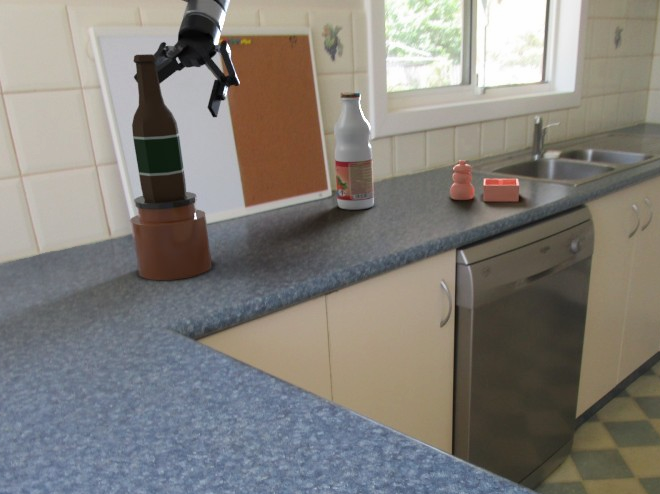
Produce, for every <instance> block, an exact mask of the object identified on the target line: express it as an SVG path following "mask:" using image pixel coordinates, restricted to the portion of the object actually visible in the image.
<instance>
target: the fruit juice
mask: <svg viewBox="0 0 660 494" xmlns="http://www.w3.org/2000/svg"><path fill="white" fill-rule="evenodd" d="M361 97H362V95H361V92H358V91H353V92H352V91H351V92H349V91H348V92H341V93H340V101H341V111H340V115H339V117H338V119H337V120H336V122H335V124H334V126H333V134H334V139H335V142H336V145H335V148H334V164H335V165H334V166H335V167H334V168H335V182H336V183H335V184H336V201H337V206H338V208H340V209H343V210H353V211H354V210H355V211H356V210H366V209H370V208H372V207H374V204H375V196H374V195H375V190H374V168H373V167H374V164H373V148H372V145H371V143H370V138H371V132H372V129H371V125H370V122H369V121H368V120H367V119H366V117H365V116H364V112H363V111H362V108H361Z"/></svg>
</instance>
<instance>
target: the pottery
mask: <svg viewBox="0 0 660 494" xmlns="http://www.w3.org/2000/svg"><path fill="white" fill-rule="evenodd" d="M458 161H459V163H458V164H456V165H454V167H453V168H452V169H453V172H454V173H453V174H452V180H453V182H454V183H453V184H452V185H451V186H450V188H449V194H450V198H451V199H452V200H456V201H457V200H458V201H467V200H472V199H474V196H475V192H476V191H475V187H474V185H473V184H472V183H471V181H473V174H472V173H471V171H472V166H471V165H470V164H468V163H467V162H466V161H467V160H465V159H462V160H461V159H459V160H458ZM482 195H483V198H482V199H483V200H482V202H519V199H520V198H519V197H520V182H519V178H483V193H482Z"/></svg>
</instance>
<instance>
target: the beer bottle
mask: <svg viewBox="0 0 660 494" xmlns="http://www.w3.org/2000/svg"><path fill="white" fill-rule="evenodd" d="M156 62H157V60H156V57H155V55H154V54H152V53H151V54H148V53H147V54H135V55H133V63H135V69H136V73H137V81H138V83H137V91H138V106H137V108H136V110H135V113H134V115H133V118H132V123H131V128H132V130H131V131H132V139H133V146H134V151H135V159H136V163H137V169H138V170H137V171H138V176H139V183H140V188H141V193H142V196H143V198H144V199H145V200H149V201H170V200H175V199H180V198H184V197H185V195H186V192H187V185H186V184H187V183H186V177H185V169H184V162H183V153H182V147H181V140H180V139H181V138H180V132H179V128H178V123H177V120H176V119H175V116H174V114H173V112H172V111H171V110H170V109H169V108H168V107H167V105H166V104H165V100H164V98H163V94H162V89H161V85H160V84H161V83H160V84H159V79H158V74H157V69H156V64H155V63H156Z"/></svg>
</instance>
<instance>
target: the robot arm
mask: <svg viewBox="0 0 660 494" xmlns="http://www.w3.org/2000/svg"><path fill="white" fill-rule="evenodd" d="M230 1H231V0H182V2H185V3H186V6H185V9H184V12H183V15H182V21H181V23H180V27H179V28H178V29H179V30H178V34H177V42H176V43H175V44H174V45H168V44H167V43H166V42H165V41H162V42H160V44H159V46H158V48H157V50H156V52H154V54H153V55H155V57H156V60H157V62H156V63H155V64H156V69H157V74H158V79H159V84H162V83H163V82H164V81H165V80H167V79H168V78H169V77H171V76H172V75H174V74H175V73H176V72H180V71H182V70H183V69H184V68H202V67H203V66H204V65H205V67H206V68H207V70H209V71H210V72H211V74H212V75H213V76H214V77H215V78H216V79H214V81H213V85H212V89H211V93H210V96H209V101H208V103H207V109H208V111H209V113H210V114H211V115H210V116H212V118H218V115H219V110H220V107H221V102H222V101H223V102H224V101H225V100H226V99H227V95H228V91H229V88H230V87H232V86H234V87H239V86H240V84H241V83H240V80H239V77H238V74H237V72H236V69H235V67H234V64H233V61H232V57H231V56H232V50H231V48H230V46H229V44H228V41H227V40H222V41H221V42H220V38H221V34H222V31H223V26H224V23H225V19H226V16H227V12H228V9H229V6H230ZM219 42H220V44H219ZM217 54H218V55H219V56H220V57H221V58H222V60H223V63H224V66H225V68H226V71H227V74H228V75H226V74H225V73H224V72H223V71H222V70H221V68H220V67H219V66H218V65H217V64H216V62H215V61H214V60H213V59H212V58H214V57H215V56H216V55H217ZM177 59H178V60H177ZM178 61H179V62H178ZM133 79H134V80H135V81H136V83H137V84H138V81H137V72H136V73H135V74H134V76H133Z"/></svg>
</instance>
